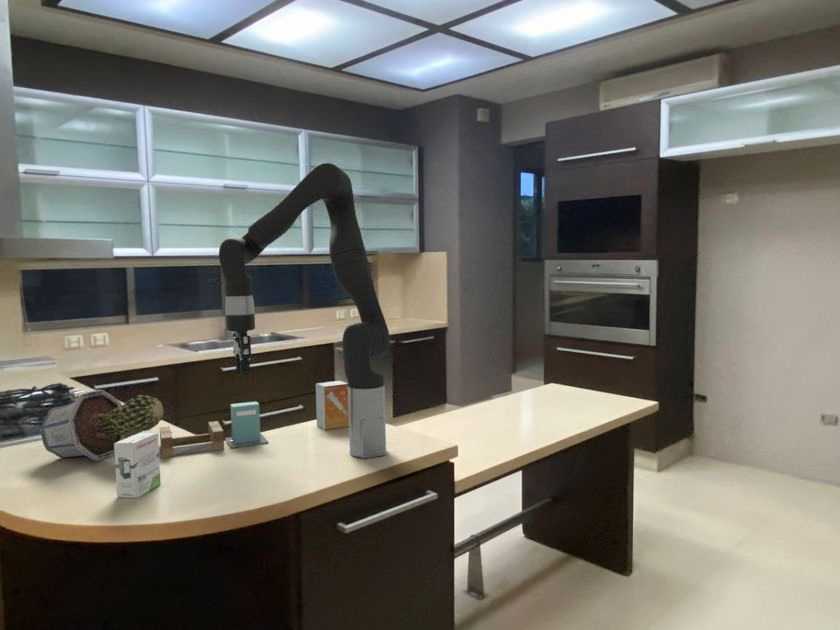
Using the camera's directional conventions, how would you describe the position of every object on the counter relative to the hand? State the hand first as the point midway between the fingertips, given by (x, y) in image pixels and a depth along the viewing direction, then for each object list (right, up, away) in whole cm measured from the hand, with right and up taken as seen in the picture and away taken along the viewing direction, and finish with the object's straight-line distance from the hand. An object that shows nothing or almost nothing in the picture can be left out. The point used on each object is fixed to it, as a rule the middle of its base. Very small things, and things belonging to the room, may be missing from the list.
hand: (242, 372), depth 168 cm
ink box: (-12, -23, -35) cm, 43 cm away
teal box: (0, -19, +2) cm, 19 cm away
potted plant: (-31, -21, -11) cm, 39 cm away
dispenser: (-13, -20, -3) cm, 24 cm away
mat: (0, -19, +2) cm, 19 cm away
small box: (+22, -18, +16) cm, 33 cm away
